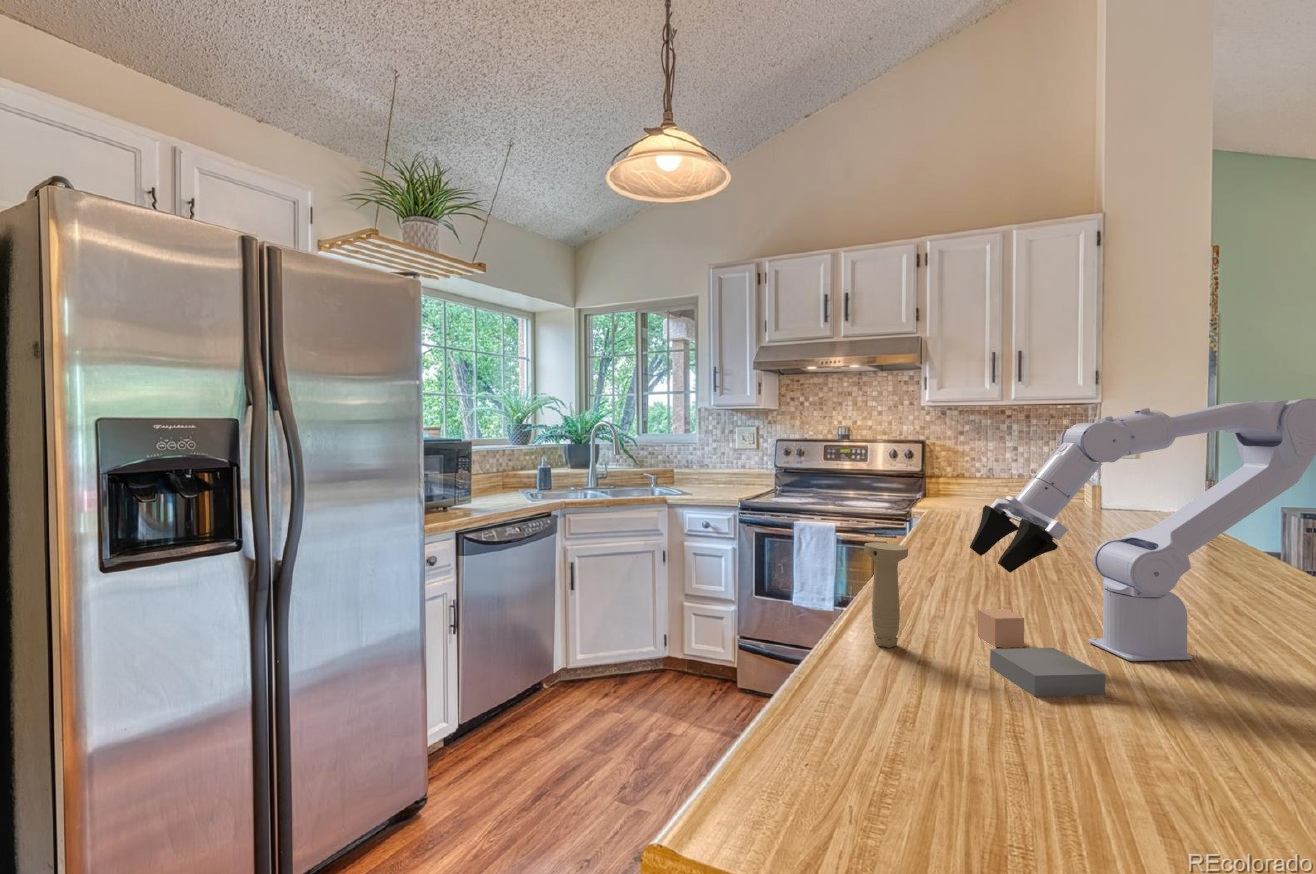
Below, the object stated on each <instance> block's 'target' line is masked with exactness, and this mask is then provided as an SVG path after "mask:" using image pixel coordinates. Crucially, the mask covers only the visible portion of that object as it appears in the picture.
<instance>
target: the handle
mask: <svg viewBox="0 0 1316 874" xmlns="http://www.w3.org/2000/svg"><path fill="white" fill-rule="evenodd" d="M863 547H864V549H863V550H864V553H865V554H866V555H868V556H869V557H870V558H872V560H873V566H874V567H873V585H872V599H871V600H872V601H871V618H872V619H871V620H872V621H871V622H872V629H873V630H872V631H873V640H874V643H875V644H876V645H877V646H878V647H881V648H883V647H884V648H887V649H888V648H889V649H891V648H894V647H896V646H897V645H898V641H899V640H898V639H899V638H898V637H897V636H898V635H899V628H900V619H901V618H900V616H901V614H900V611H901V610H900V609H901V608H900V607H901V603H900V593H899V590H900V589H899V588H900V587H899V573H898V568H899V562H900V561H902V560H905V559H906V558H907V557H908V556H909V548H908V547H906V546H904V545H900V544H895V543H889V542H881V541H880V542H876V541H875V542H866V543H864V544H863Z"/></svg>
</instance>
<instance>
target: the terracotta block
mask: <svg viewBox="0 0 1316 874" xmlns="http://www.w3.org/2000/svg"><path fill="white" fill-rule="evenodd" d="M978 637H979V638H980V639H979V638H978ZM977 638H978V639H979V640H981V639H983V640H984V641H986V642H987V643H989V644H991V645H993V646H995V647H1009V648H1008V649H1011V648H1010V647H1019V648H1025V617H1023V616H1020V615H1019V614H1016V613H1015V612H1012V611H1010V610H1008V609H1006V608H1002V609H1001V608H999V609H997V608H996V609H989V608H988V609H977ZM984 641H983V642H984ZM986 642H985V643H986ZM987 643H986V644H987ZM989 644H988V645H989ZM991 645H990V646H991Z"/></svg>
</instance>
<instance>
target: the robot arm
mask: <svg viewBox="0 0 1316 874" xmlns="http://www.w3.org/2000/svg"><path fill="white" fill-rule="evenodd" d="M1133 412H1134V413H1133V414H1128V415H1123V416H1117V417H1113V416H1112V415H1108V416H1101V417H1100V421H1099V422H1080V423H1076V424H1074V425H1071V426H1070V428H1068V429H1063V431H1062V432H1061V434H1060V437H1059V445H1058V446H1059V447H1058V448H1057V449H1056V450H1055V452H1054V453H1052V455H1050V456H1049V458H1048V459H1047V460H1046V461H1045V463H1044V464H1042V466H1041V467H1040V468H1039V469H1038V470H1037V472H1036V473H1035V474H1034V475H1033V476H1032V477H1031V479H1029V481H1028V482H1027V483H1026V484H1025V485H1024V487H1023V488H1022V489H1021V490H1020V491H1019V492H1018V493H1017V495H1016V496H1015V497H1013V496H1011V495H1007V496H1005V499H1003V498H1002V499H1001V498H1000V497H998V498H996V499H995V500H994V502H993V503H992V504H991V505H990V506H989V505H987V504H985V505H984V506H983V508H982V514H981V519H980V523H979V527H978V529H977V531H976V533H975V535H974V537H973V539H972V542H971V543H970V546H969V548H970V549H971V550H972V551H973V552H975V553H976V554H977V555H978V556H980V557H983V555H985V554H987V552H989V551H990V550H991V549H993V547H995V545H996V544H997V543H998V542H1000V541H1001V540H1003V538H1005V537H1006V536H1008V535H1009V534H1012V533H1014V532H1016V533H1015V535H1014V537H1013V539H1012V541H1011V543H1010V544H1009V545H1008V546H1007V548H1006V549H1005V551H1003V553H1002V555H1001V556H1000V558H999V559H998V562H997V564H998V565H999V566H1000V567H1002V568H1003V569H1004V570H1006V571H1007V572H1008V573H1009V574H1010V573H1012V572H1014V571H1015V570H1017V569H1019V568H1020V567H1021V566H1023V565H1024V564H1026V563H1028V562H1030V561H1031V560H1033V559H1035V558H1037V557H1039V556H1042V555H1043V554H1046V553H1048V552H1053V551H1056V550H1057V549H1058V548H1059V546H1058V544H1056V543H1055V542H1054V539H1055V540H1058V541H1060V540H1061V539H1062V538H1063V537H1064V535H1066V533H1067V532H1069V529H1068V527H1066V526H1065V525H1064V524H1063V523H1061V522H1060V521H1059V520H1056V518H1057V516H1058V515H1059V514H1060V513H1061V512H1062V511H1063V510H1064V509H1065V508H1066V507H1067V505H1068V504H1069V503H1070V502H1071V501H1072V500H1073V498H1074V497H1075V496H1077V494H1078V493H1079V491H1080V490H1082V488H1083V487H1084V486H1085V485H1086V484H1087V482H1089V480H1090V479H1091V478H1092V477H1093V476H1094V474H1096V472H1097V471H1098V470H1099V468H1100V467H1101V466H1102V465H1103V463H1115V462H1117V461H1119V460H1120V459H1121V458H1122V457H1127V456H1133V455H1137V454H1143V453H1148V452H1154V451H1159V450H1164V449H1168V448H1169V447H1171V446H1172V444H1173V443H1174V442H1175V440H1176V438H1181V437H1187V436H1195V435H1201V434H1206V433H1212V432H1220V431H1224V432H1226V433H1228V434H1229V433H1230V434H1231V433H1232V434H1233V438H1234V441H1235V443H1236V447H1237V450H1238V453H1239V456H1240V459H1241V461H1242V462H1243V464H1242V466H1241V467H1240V468H1238V469H1237V470H1234V471H1233V472H1232V473H1231V474H1229V475H1228V476H1226V477H1225V478H1223V479H1221V480H1220V481H1219V482H1218V483H1216V484H1214V485H1212V487H1210V488H1209V489H1207V490H1205V491H1204V492H1202V493H1201V494H1200V495H1198V496H1196V497H1195V498H1193V499H1191V501H1189V502H1188V503H1186V504H1185V505H1183V506H1182V507H1180V508H1179V509H1178V510H1175V511H1174V512H1173V513H1172V514H1170V515H1169V516H1167V517H1166V518H1164V519H1162V520H1161V521H1160V522H1158V523H1156V524H1155V525H1153V526H1152V527H1149V528H1145V529H1141V530H1135V531H1132V532H1129V533H1127V534H1125V535H1124V536H1122V537H1120V538H1117V539H1110V540H1107V541H1104V542H1102V543H1101V544H1100V545H1099V546H1097V548H1096V550H1095V551H1094V554H1093V559H1092V561H1093V566H1094V569H1095V570H1096V572H1097V573H1098V574H1099V575H1100V576H1101V577H1102V585H1103V586H1102V587H1103V592H1102V593H1103V598H1102V600H1103V603H1102V604H1103V605H1102V606H1103V609H1102V610H1103V612H1102V614H1103V616H1102V637H1101V638H1098V637H1097V638H1088V639H1087V642H1088V643H1089V644H1092V645H1093V646H1096V647H1098V648H1101V649H1102V650H1105V651H1107V652H1110V653H1112V654H1114V655H1116V656H1118V657H1120V658H1123V659H1124V660H1127V661H1130V662H1138V661H1139V662H1141V661H1142V662H1144V661H1145V662H1147V661H1183V660H1193V658H1194V657H1193V656H1192V655H1191V654H1188V611H1187V608H1186V605H1185V604H1184V602H1183V601H1182V599H1181V598H1180V597H1179V596H1178V595H1177V594H1176V593H1174V592H1172V590H1174V588H1175V587H1176V586H1177V584H1178V582H1179V581H1180V578H1181V577H1182V576H1183V575H1184V574H1185V573H1187V572H1188V571H1190V570H1191V568H1192V565H1191V562H1190V557H1189V556H1190V555H1191V554H1193V553H1194V552H1196V551H1197V550H1199V549H1200V548H1201V547H1203V546H1205V545H1206V544H1207V543H1210V542H1211V541H1212V540H1214V539H1215V538H1217V537H1218V536H1220V535H1222V533H1225V532H1226V531H1227V530H1229V529H1230V528H1231V527H1233V526H1235V525H1236V524H1238V523H1239V522H1241V521H1242V520H1243V519H1245V518H1247V517H1248V516H1250V515H1251V514H1253V513H1255V512H1256V511H1258V510H1259V509H1260V508H1262V507H1263V506H1265V505H1266V504H1268V503H1269V502H1271V501H1272V500H1274V499H1275V498H1277V497H1279V496H1280V495H1282V494H1283V493H1285V492H1286V491H1288V490H1289V489H1290V488H1292V487H1293V486H1295V485H1296V484H1298V482H1299V481H1300V480H1301V478H1302V477H1303V475H1304V474H1305V473H1306V470H1307V468H1308V467H1309V466H1310V465H1311V462H1313V460H1314V457H1316V398H1311V397H1309V398H1308V397H1307V398H1299V399H1293V400H1291V399H1290V400H1287V399H1286V400H1285V399H1284V400H1263V401H1262V400H1261V401H1260V400H1252V401H1251V400H1250V401H1244V402H1241V401H1240V402H1225V403H1221V404H1217V405H1213V406H1208V407H1203V408H1199V409H1195V410H1190V411H1187V412H1183V413H1182V412H1181V413H1178V414H1174V415H1168V414H1166V413H1164V412H1162V411H1160V410H1156V409H1155V410H1153V409H1152V410H1151V409H1150V408H1149V407H1146V408H1143V407H1141V408H1138V409H1134V410H1133ZM1012 520H1014V521H1016V522H1019V525H1016V523H1014V522H1013V521H1012Z"/></svg>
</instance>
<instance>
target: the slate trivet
mask: <svg viewBox="0 0 1316 874" xmlns="http://www.w3.org/2000/svg"><path fill="white" fill-rule="evenodd" d="M989 657H990V661H989V662H990V665H989V666H990V667H991V668H993V669H994V670H995V671H994V670H993V669H992V670H993V671H994V672H996V673H997V674H999V673H1000V674H1001V675H1000V674H999V675H1000V676H1002V677H1003V678H1004V679H1006V678H1007V679H1006V680H1008V681H1009V682H1011V683H1012V684H1014V685H1016V686H1017V687H1018V688H1021V689H1022V690H1023V689H1024V691H1025V692H1026V693H1028V694H1029V693H1030V694H1029V695H1031V694H1032V695H1033V697H1034V698H1040V697H1043V696H1044V697H1045V698H1046V697H1047V696H1048V697H1074V696H1075V697H1076V696H1077V697H1078V696H1079V697H1080V696H1105V695H1106V673H1104V672H1102V671H1100V670H1098V669H1096V668H1095V667H1092V666H1091V665H1088V664H1086V663H1085V662H1082V661H1080V660H1078V659H1076V658H1074V657H1072V655H1071V656H1070V655H1068V654H1067V653H1065V652H1063V651H1061V650H1058V649H1057V648H1055V647H1035V648H1034V647H1031V648H1029V647H1019V648H990V656H989ZM991 668H990V669H991ZM1032 695H1031V696H1032ZM1044 697H1043V698H1044Z"/></svg>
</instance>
